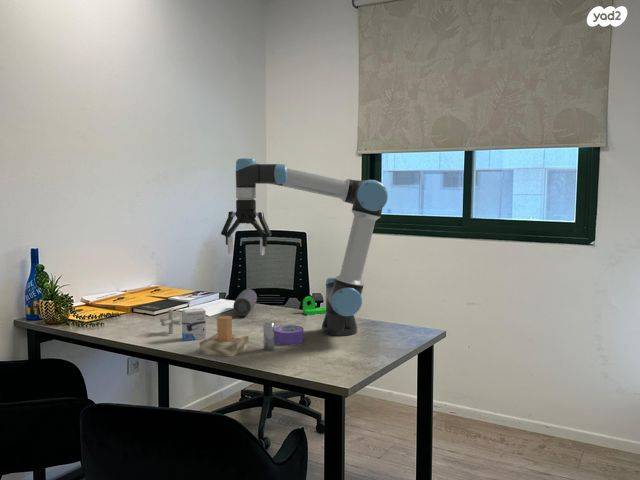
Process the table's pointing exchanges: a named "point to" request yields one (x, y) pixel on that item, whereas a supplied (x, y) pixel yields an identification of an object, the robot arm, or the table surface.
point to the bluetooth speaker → (245, 302)
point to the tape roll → (288, 334)
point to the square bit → (224, 328)
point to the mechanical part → (312, 307)
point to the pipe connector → (171, 321)
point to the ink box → (193, 324)
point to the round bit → (268, 336)
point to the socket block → (224, 345)
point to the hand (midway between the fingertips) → (246, 254)
